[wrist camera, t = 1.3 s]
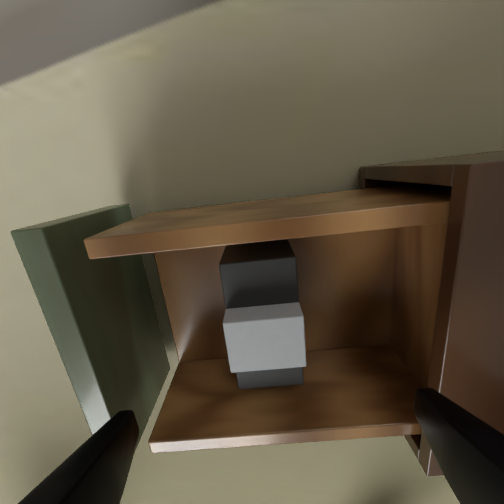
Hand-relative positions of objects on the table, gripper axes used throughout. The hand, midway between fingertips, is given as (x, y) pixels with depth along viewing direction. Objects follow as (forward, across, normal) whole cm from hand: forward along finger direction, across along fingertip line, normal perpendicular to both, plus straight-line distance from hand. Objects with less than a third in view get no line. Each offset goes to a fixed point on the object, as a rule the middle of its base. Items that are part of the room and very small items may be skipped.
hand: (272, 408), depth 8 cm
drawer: (+9, +1, 0) cm, 9 cm away
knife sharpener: (+8, 0, 0) cm, 8 cm away
